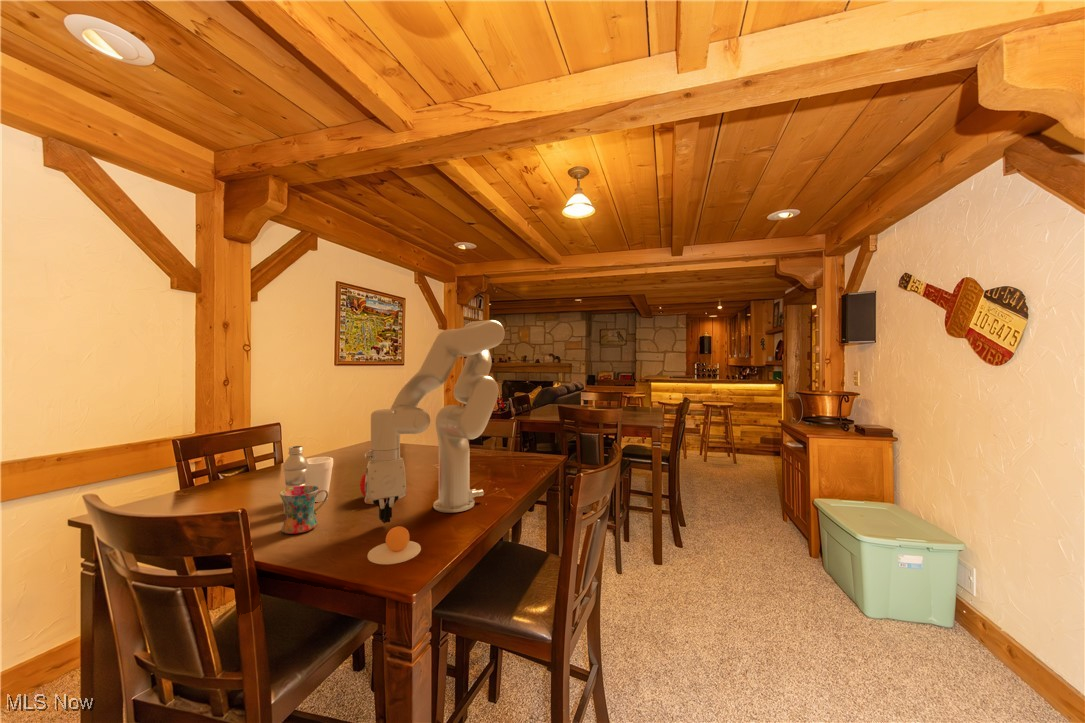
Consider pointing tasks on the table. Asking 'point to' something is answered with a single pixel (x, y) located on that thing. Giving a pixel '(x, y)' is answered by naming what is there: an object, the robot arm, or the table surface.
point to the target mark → (393, 554)
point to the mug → (300, 508)
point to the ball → (397, 538)
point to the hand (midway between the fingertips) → (385, 521)
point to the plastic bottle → (295, 468)
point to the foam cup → (319, 475)
